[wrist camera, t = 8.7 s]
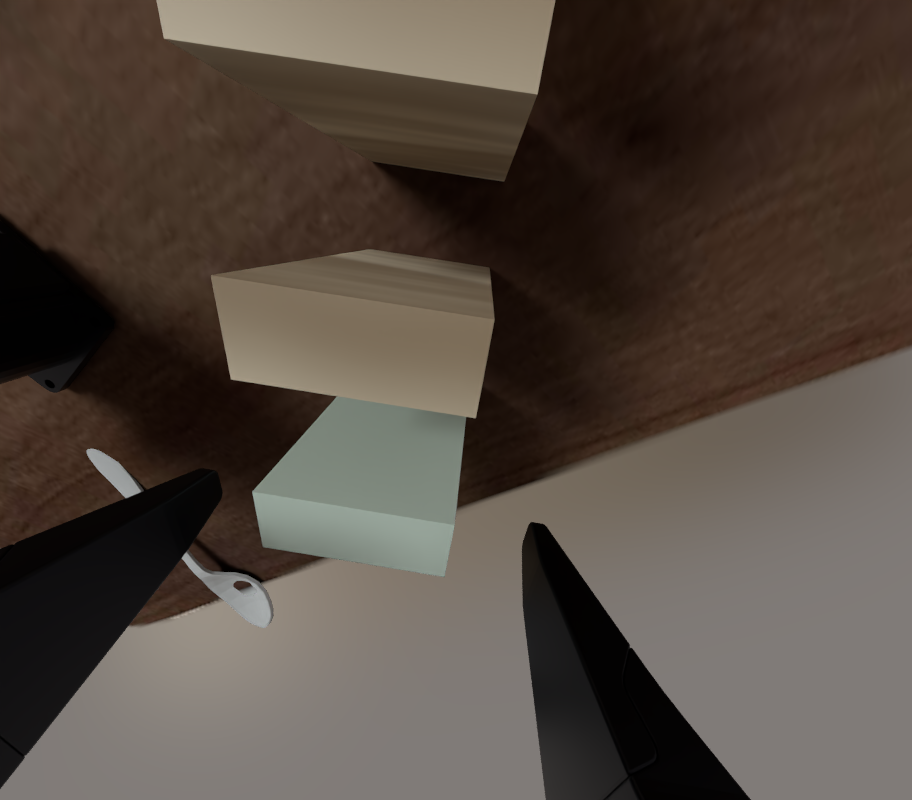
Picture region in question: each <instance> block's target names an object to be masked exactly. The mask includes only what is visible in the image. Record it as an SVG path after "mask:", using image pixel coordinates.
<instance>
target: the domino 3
mask: <svg viewBox="0 0 912 800" xmlns="http://www.w3.org/2000/svg"><path fill="white" fill-rule="evenodd" d="M465 423H466V417H464V416H458V415H452V414H446V413H439V412H433V411H427V410H420V409H414V408H408V407H402V406H395V405H389V404H383V403H376V402H370V401H364V400H358V399H351V398H345V397H339V396H337V397H336V398H335V400H334V401H333V402H332V403H331V404H330V405H329V406H328V407H327V409H326V410H325V411H324V412H323V413H322V414H321V415H320V416H319V418H318V419H317V420H316V421H315V422H314V423H313V424H312V425H311V426H310V428H309V429H308V430H307V431H306V432H305V433H304V434H303V435H302V437H301V438H300V439H299V440H298V441H297V442H296V443H295V444H294V446H293V447H292V448H291V449H290V450H289V451H288V452H287V453H286V454H285V456H284V457H283V458H282V459H281V460H280V461H279V462H278V463H277V465H276V466H275V467H274V468H273V469H272V470H271V471H270V472H269V474H268V475H267V476H266V477H265V478H264V479H263V480H262V481H261V482H260V484H259V485H258V486H257V487H256V488H255V489H254V490H253V491H252V493H253V498H254V503H255V508H256V514H257V519H258V524H259V529H260V535H261V540H262V545H263V547H267V548H273V549H279V550H285V551H291V552H297V553H303V554H309V555H315V556H321V557H327V558H333V559H339V560H346V561H351V562H357V563H364V564H369V565H375V566H382V567H387V568H393V569H399V570H405V571H412V572H417V573H423V574H429V575H435V576H441V577H445V572H446V567H447V562H448V557H449V551H450V546H451V541H452V536H453V531H454V526H455V517H456V508H457V498H458V489H459V480H460V470H461V461H462V451H463V442H464V433H465Z"/></svg>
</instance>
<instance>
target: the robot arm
mask: <svg viewBox="0 0 912 800" xmlns="http://www.w3.org/2000/svg"><path fill="white" fill-rule="evenodd" d="M113 329H114V321H113V319H112V318H111V317H110V316H109V314H107V313H106V312H105V311H104V310H103V309H102V308H101V307H99V306H98V305H97V304H96V303H95V302H94V301H92V300H91V299H90V298H89V297H88V296H87V295H86V294H84V293H83V292H82V291H81V290H80V289H79V288H78V287H76V286H75V285H74V284H73V283H72V282H71V281H69V280H68V279H67V278H66V277H65V276H64V275H63V274H61V273H60V272H59V271H58V270H57V269H56V268H54V267H53V266H52V265H51V264H50V263H49V262H48V261H46V260H45V259H44V258H43V257H42V256H41V255H39V254H38V253H37V252H36V251H35V250H34V249H33V248H31V247H30V246H29V245H28V244H27V243H26V242H24V241H23V240H22V239H21V238H20V237H19V236H18V235H16V234H15V233H14V232H13V231H12V230H11V229H10V228H8V227H7V226H6V225H5V224H4V223H3V222H1V221H0V384H2V383H5V382H8V381H12V380H15V379H18V378H21V377H24V376H27V375H28V376H29V377H31V378H32V379H33V380H35V381H36V382H37V383H39V384H40V385H41V386H43V387H44V388H45V389H47V390H49V391H51V392H59V391H62V390H65V389H67V388H68V387H69V385H70V384H71V383H72V382H73V380H74V379H75V378H76V376H77V375H78V374H79V373H80V371H81V370H82V369H83V367H84V366H85V365H86V363H87V362H88V361H89V360H90V358H91V357H92V356H93V354H94V353H95V352H96V351H97V349H98V348H99V347H100V345H101V344H102V343H103V342H104V340H105V339H106V338H107V336H108V335H109V334H110V333H111V331H112V330H113ZM221 498H222V487H221V483H220V479H219V475H218V473H217V472H216V471H215V470H210V469H203V468H201V469H197V470H195V471H192V472H190V473H187V474H185V475H182V476H180V477H177V478H175V479H172V480H170V481H167V482H165V483H162V484H160V485H157V486H155V487H152V488H150V489H147V490H145V491H143V492H140V493H138V494H135V495H133V496H130V497H128V498H125V499H123V500H120V501H118V502H115V503H113V504H110V505H108V506H105V507H103V508H100V509H98V510H95V511H93V512H91V513H88V514H86V515H83V516H81V517H78V518H76V519H73V520H71V521H68V522H66V523H63V524H61V525H58V526H56V527H53V528H51V529H48V530H46V531H43V532H41V533H38V534H36V535H34V536H31V537H29V538H26V539H24V540H21V541H19V542H17V543H15V545H9V546H6V547H4V548H1V549H0V789H1V787H2V786H3V785H4V783H5V782H6V781H7V780H8V779H9V777H10V776H11V775H12V773H13V772H14V771H15V770H16V768H17V767H18V766H19V764H20V763H21V762H22V761H23V759H24V758H25V755H27V753H29V751H30V750H31V749H32V748H33V746H34V745H35V744H36V743H37V741H38V740H39V739H40V737H41V736H42V735H43V734H44V732H45V731H46V730H47V729H48V727H49V726H50V725H51V723H52V722H53V721H54V720H55V718H56V717H57V716H58V715H59V713H60V712H61V711H62V709H63V708H64V707H65V706H66V704H67V703H68V702H69V700H70V699H71V698H72V697H73V696H74V694H75V693H76V692H77V690H78V689H79V688H80V687H81V685H82V684H83V683H84V682H85V680H86V679H87V678H88V677H89V675H90V674H91V673H92V671H93V670H94V669H95V668H96V666H97V665H98V663H100V661H101V660H102V659H103V657H104V656H105V655H106V654H107V652H108V651H109V650H110V648H111V647H112V646H113V645H114V643H115V642H116V641H117V640H118V638H119V637H120V636H121V635H122V633H123V632H124V631H125V629H126V628H127V627H128V626H129V624H130V623H131V622H132V621H133V619H134V618H135V617H136V616H137V614H138V613H139V612H140V610H141V609H142V608H143V607H144V605H145V604H146V603H147V602H148V600H149V599H150V598H151V597H152V595H153V594H154V593H155V591H156V590H157V589H158V588H159V586H160V585H161V584H162V583H163V581H164V580H165V579H166V577H167V576H168V575H169V574H170V572H171V571H172V570H173V569H174V567H175V566H176V565H177V563H178V562H179V561H180V560H181V558H182V557H183V556H184V554H185V553H186V552H187V550H188V549H189V548H190V546H191V545H192V543H193V542H194V540H195V539H196V537H197V536H198V534H199V533H200V531H201V529H202V528H203V526H204V525H205V523H206V522H207V520H208V519H209V517H210V516H211V514H212V513H213V511H214V509H215V508H216V506H217V505H218V503H219V502H220V500H221ZM522 580H523V581H522V585H523V586H522V587H523V611H524V620H525V629H526V638H527V646H528V654H529V663H530V671H531V679H532V687H533V696H534V705H535V713H536V721H537V729H538V738H539V746H540V755H541V763H542V771H543V779H544V787H545V796H546V800H751V799H750V798H749V797H748V796H747V795H746V793H745V792H744V791H743V790H742V788H741V787H740V786H739V785H738V783H737V782H736V781H735V780H734V779H733V777H732V776H731V775H730V774H729V772H728V771H727V770H726V769H725V767H724V766H723V765H722V764H721V763H720V762H719V760H718V759H717V758H716V757H715V755H714V754H713V753H712V752H711V750H710V749H709V748H708V747H707V746H706V744H705V743H704V742H703V740H702V739H701V738H700V737H699V735H698V734H697V733H696V732H695V731H694V729H693V728H692V727H691V726H690V724H689V723H688V722H687V721H686V719H685V718H684V717H683V716H682V715H681V713H680V712H679V711H678V709H677V708H676V707H675V705H674V704H673V703H672V702H671V700H670V699H669V698H668V697H667V695H666V694H665V693H664V691H663V690H662V689H661V687H660V686H659V685H658V683H657V682H656V681H655V679H654V678H653V677H652V675H651V674H650V672H649V671H648V670H647V668H646V667H645V666H644V664H643V663H642V661H641V660H640V659H639V657H638V656H637V654H636V653H635V651H634V650H633V649H632V648H630V645H629V643H628V642H627V640H626V639H625V637H624V636H623V635H622V633H621V632H620V631H619V629H618V627H617V626H616V625H615V623H614V622H613V620H612V619H611V618H610V616H609V615H608V613H607V612H606V610H605V609H604V608H603V606H602V605H601V603H600V602H599V600H598V599H597V598H596V597H595V595H594V593H593V592H592V591H591V589H590V588H589V586H588V585H587V583H586V582H585V581H584V579H583V578H582V576H581V575H580V574H579V572H578V571H577V569H576V568H575V566H574V565H573V564H572V562H571V561H570V559H569V558H568V557H567V555H566V554H565V552H564V551H563V550H562V548H561V547H560V545H559V544H558V542H557V541H556V539H555V538H554V537H553V535H552V534H551V532H550V531H549V530H548V528H547V527H546V526H545V525H544V524H540V523H534V522H531V523H530V524H529V526H528V528H527V532H526V534H525V538H524V540H523V545H522Z"/></svg>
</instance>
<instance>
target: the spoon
mask: <svg viewBox="0 0 912 800" xmlns="http://www.w3.org/2000/svg"><path fill="white" fill-rule="evenodd" d="M87 455H88V457H89V458H90V460H91V461H92V463H93V464H94V465H95V466H96V468H97V469H98V470H99V471H100V472H101V473H102V474H103V475H104V476H105V477H106V478H107V479H108V480H109V481H110V482H111V483H112V484H113V485H114V486H115V487H116V488H117V489H118V491H119V492H120V493H121V494H122V495H123V496H124V497H125V498H128V497H130V496H133V495H135V494H138V493H140V492H143V491H144V490H143V489H142V487H141V486H140V484H139V483H138V482H137V481H136V480H135V479H134V478H133V477H132V476H131V475H130V474H129V473H128V472H127V471H126V470H125V469H124V468H123V467H122V465H121V464H120V463H118V462H117V461H115V460H114V459H112V458H110V457H109V456H107V455H106V454H104V453H102V452H101V451H98V450H95V449H88V450H87ZM182 559H183V560H184V561H185V563H186V564H187V565H188V566H189V568H190V569H191V570H192V571H193V572H194V574H195V575H196V576H197V577H199V578H200V579H201V580H202V581H203V582H204V583H205V584H206V585H207V586H208V587H209V588H210V589H211V590H212V591H213V592H214V593H216V594H217V595H218V596H219V597H220V598H222V599H223V600H224V601H225V602H227V603H228V604H229V605H230V606H231V607H232V608H233V609H234V610H235V611H236V612H237V613H239V614H240V615H241V616H242V617H243V618H244V619H246V620H247V621H248V622H250V623H251V624H253V625H256V626H258V627H262V628H265V627H267V626H268V625H269V624H270V623H271V621H272V618H273V606H272V602H271V599H270V597H269V595H268V593H267V590H266V589H265V588H264V587H263V586H262V585H261V583H260V582H259V581H257V580H255V579H253V578H252V577H250V576H248V575H245V574H240V573H236V572H213V571H210V570H208V569H205V568H204V567H203V566H202V565H201V564H200V563H199V562H198V561H197V560H196V559H195V557H194V556H193V555H192V554H191V553H190V551H189V550H187V552H186V553H185V554H184V556H183V557H182ZM236 581H246V582H250V583H251V584H252V586H253V588H250V589H247V590H245V591H242V592H239V591H238V590H237V589H235V588H234V587H233V584H234V583H235V582H236Z"/></svg>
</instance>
